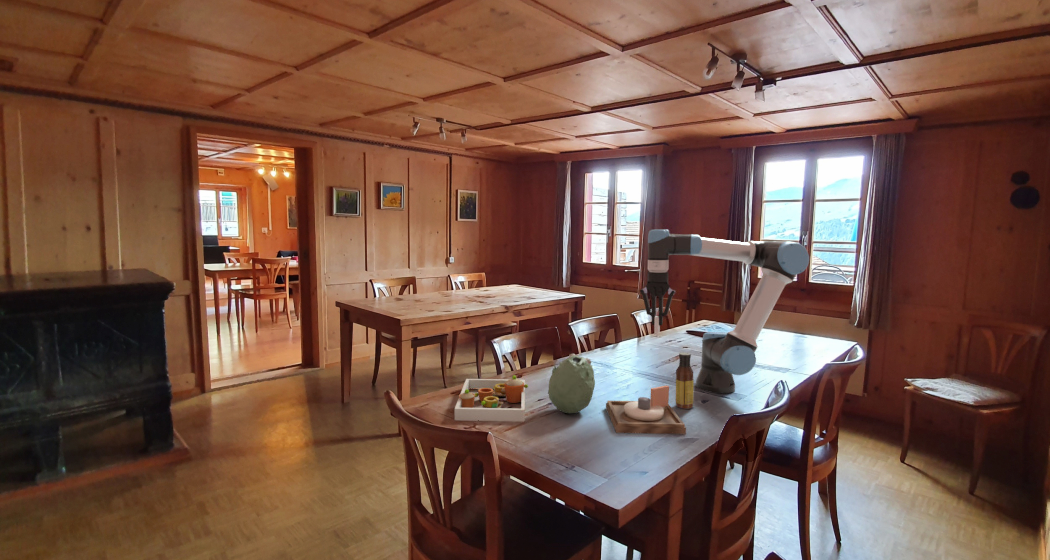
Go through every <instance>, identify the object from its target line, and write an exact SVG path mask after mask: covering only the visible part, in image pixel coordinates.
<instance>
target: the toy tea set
mask: <svg viewBox="0 0 1050 560" xmlns="http://www.w3.org/2000/svg"><path fill="white" fill-rule="evenodd" d="M521 380H522V379H519V378H517V376H516V375H512V377H511V378H509V380H507V381H506V382H505V383H504V384H496V385H494V387H493V388H494V390H493V389H491V388H481V389H479V390H477V392H475V393H472V392H470V390H468V389H466V390H465V393H462V394H461V393H460V394H459V395H458V399H459V398H460V399H462V408H474V405H475V398H478V399H479V402H480V404H481V406H482V407H481V408H502V405H504V401H499V397H501V398H502V397H505V399H506V402H507V403H512V404H518V403H521V398H522V392H523V390H524V388H525V389H528V387H529V385H528V384H527V383H525V385H524V383H523V382H522V381H521Z"/></svg>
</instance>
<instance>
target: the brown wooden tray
mask: <svg viewBox="0 0 1050 560" xmlns="http://www.w3.org/2000/svg"><path fill="white" fill-rule="evenodd" d="M634 401H635V400H607V401H606V402H605V409H606V412H607V414H608V417H609V418H610V421H611V423H612V426H613V427H614V431H615V433H616V434H651V435H653V434H654V435H655V434H656V435H657V434H660V435H661V434H662V435H666V434H667V435H668V434H669V435H686V434H687V427H686V424H685V423H684V422H683V421H682V419H681V418H680V417H679V416H678V414H677V412H676V411H674V409H673V408H672V406H670V404H669V403H668V406H665V407H663V409H664V415H663V418H661V419H659V420H654V421H643V420H637V419H633V418H631V417H628V416H627V415H625V413H624V405H625V404H626V403H629V402H634Z"/></svg>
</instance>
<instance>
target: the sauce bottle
mask: <svg viewBox="0 0 1050 560" xmlns="http://www.w3.org/2000/svg"><path fill="white" fill-rule="evenodd" d="M691 356H692V354H691V353H689V352H679V353H678V358H679V361H678V367H677V368H676V370H675V406H676V407H677V408H679V409H683V410H689V409H693V406H694V385H695V384H694V381H695V380H694V371H693V368H692V366H691V358H692V357H691Z"/></svg>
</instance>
